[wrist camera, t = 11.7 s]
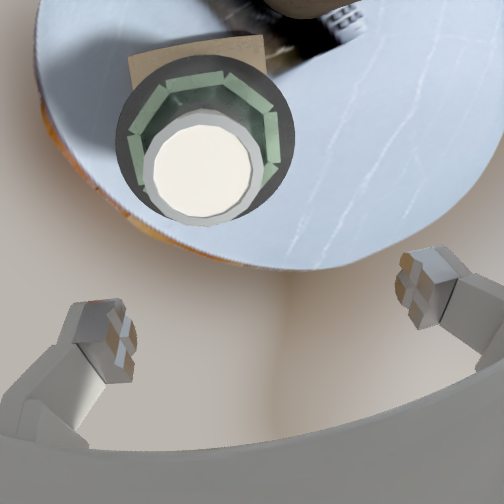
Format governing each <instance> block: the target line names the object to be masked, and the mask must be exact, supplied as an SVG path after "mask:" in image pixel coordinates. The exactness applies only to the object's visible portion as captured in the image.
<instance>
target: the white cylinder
mask: <svg viewBox="0 0 504 504" xmlns="http://www.w3.org/2000/svg"><path fill="white" fill-rule="evenodd" d="M263 172H264V165H263V161H262V156H261V152H260V148H259V146H258V144H257V143H256V142H255V140H254V139H253V137H252V136H251V135H250V134H249V132H248V131H247V130H246V128H245V127H243V126H242V125H240V124H239V123H237V122H236V121H234V120H233V119H231V118H230V117H228V116H226V115H224V114H222V113H221V112H219V111H217V110H212V109H202V108H200V109H197V110H193V111H190V112H187V113H185V114H183V115H182V116H180V117H178V118H177V119H175V120H174V121H172V122H171V123H170V124H169V125H167V126H166V127H165V128H164V129H163V130H161V131H160V132H159V133H158V134H157V135H156V136H154V138H153V140H152V142H151V144H150V146H149V148H148V150H147V152H146V154H145V156H144V165H143V182H144V184H145V187H146V190H147V192H148V195H149V197H150V200H151V201H152V202H153V203H154V204H155V205H156V206H157V207H158V208H159V209H160V211H161V212H162V213H163V214H164V215H165V216H167V217H169V218H171V219H173V220H176V221H178V222H180V223H182V224H184V225H190V226H203V227H210V226H213V225H217V224H221V223H224V222H228V221H230V220H232V219H233V218H235V217H236V216H237V215H239V214H240V213H242V212H243V211H245V210H246V209H247V208H248V207H249V206H250V204H251V203H252V201H253V200H254V198H255V197H256V195H257V194H258V192H259V191H260V187H261V182H262V177H263Z"/></svg>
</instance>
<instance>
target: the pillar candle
mask: <svg viewBox="0 0 504 504" xmlns="http://www.w3.org/2000/svg"><path fill="white" fill-rule="evenodd" d="M357 1H361V0H264V2H265V3H266V4H268V5H269V6H270V7H271V8H272V9H274V10H275V11H277V12H278V13H280V14H282V15H285V16H287V17H292V18H296V19H304V18H305V19H311V18H316V17H319V16H321V15H324V14H325V13H327V12H329V11H331V10H335V9H337V8H340V7H343V6H346V5H349V4H352V3H354V2H357Z"/></svg>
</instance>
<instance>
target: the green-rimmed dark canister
mask: <svg viewBox="0 0 504 504" xmlns="http://www.w3.org/2000/svg"><path fill="white" fill-rule="evenodd" d="M127 58H128V65H129V71H130V77H131V83H132V89H133V92H132V93H131V95H130V96H129V98H128V99H127V101H126V103H125V105H124V107H123V109H122V112H121V114H120V117H119V120H118V125H117V129H116V139H115V141H116V154H117V160H118V164H119V167H120V170H121V173H122V175H123V177H124V179H125V181H126V183H127V184H128V186H129V187H130V189H131V190H132V192H133V193H134V194H135V195H136V196H137V197H138V199H139V200H141V201H142V202H143V203H144V204H145V205H146V206H147V207H149V208H150V209H152V210H153V211H155V212H156V213H158V214H160V215H162V216H164V217H166V218H169V217H167V216H165V215H164V214H163V213H162V212H161V211H160V209H159V208H158V207H157V206H156V205H155V204H154V203H153V202H152V201H151V200H150V197H149V195H148V192H147V190H146V187H145V184H144V182H143V165H144V156H145V154H146V152H147V150H148V148H149V146H150V144H151V142H152V140H153V138H154V136H156V135H157V134H158V133H159V132H160V131H161V130H163V129H164V128H165V127H166V126H167V125H169V124H170V123H171V122H172V121H174V120H175V119H177V118H178V117H180V116H182V115H183V114H185V113H187V112H190V111H193V110H197V109H200V108H202V109H212V110H217V111H219V112H221V113H222V114H224V115H226V116H228V117H230V118H231V119H233V120H234V121H236V122H237V123H239V124H240V125H242V126H243V127H245V128H246V130H247V131H248V132H249V134H250V135H251V136H252V137H253V139H254V140H255V142H256V143H257V144H258V146H259V148H260V152H261V156H262V161H263V165H264V172H263V177H262V182H261V187H260V191H259V192H258V194H257V195H256V197H255V198H254V200H253V201H252V203H251V204H250V206H249V207H248V208H247V209H246V210H245V211H243V212H242V213H240V214H239V215H237V216H236V217H235V218H233V219H232V220H234V219H237V218H239V217H241V216H244V215H246V214H248V213H250V212H251V211H253V210H254V209H256V208H258V207H259V206H260V205H261V204H263V203H264V202H265V201H266V200H267V199H268V198H269V197H270V196H271V195H272V194H273V193H274V192H275V191H276V189H277V188H278V187H279V186H280V184H281V183H282V181H283V179H284V178H285V176H286V174H287V172H288V169H289V167H290V164H291V161H292V157H293V153H294V146H295V129H294V122H293V118H292V114H291V111H290V108H289V106H288V104H287V101H286V100H285V98H284V96H283V95H282V93H281V91H280V90H279V89H278V88H277V86H276V85H275V84H274V83H273V82H272V81H271V80H270V79H269V78H268V77H267V73H266V62H265V53H264V43H263V35H251V36H239V37H229V38H221V39H213V40H206V41H199V42H193V43H187V44H181V45H176V46H171V47H166V48H161V49H156V50H152V51H148V52H143V53H139V54H135V55H132V56H128V57H127ZM169 219H171V218H169ZM172 220H173V219H172ZM175 221H176V220H175ZM230 221H231V220H230Z"/></svg>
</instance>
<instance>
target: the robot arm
mask: <svg viewBox="0 0 504 504" xmlns="http://www.w3.org/2000/svg"><path fill="white" fill-rule="evenodd" d="M399 265H400V267H401V268H402V270H401V271H400V272H399V273H398V275H397V276H396V280H395V293H396V295H397V298H398V300H399V302H400V303H401V305H403V306H405V307H406V308H408V309H409V313H408V316H409V317H410V319H411V320H412V322H413V323H414V325H415V327H416V328H417V330H421V329H424V328H428V327H431V326H434V325H437V324H440V326H441V327H443V328H444V329H446V330H447V331H448V332H450V333H451V334H453V335H454V336H456V337H457V338H458V339H460V340H461V341H463V342H464V343H465V344H467V345H468V346H470V347H471V348H472V349H474V350H475V351H477V352H478V353H480V354H481V355H482V356H481V358H480V359H479V361H478V363H477V364H476V366H475V370H476V372H477V373H475V374H473V375H471V376H469V377H467V378H465V379H463V380H461V381H459V382H456V383H455V384H452V385H450V386H448V387H446V388H443V389H441V390H439V391H437V392H434V393H432V394H430V395H427V396H425V397H422V398H420V399H417V400H415V401H412V402H410V403H407V404H404V405H402V406H399V407H396V408H394V409H391V410H388V411H385V412H382V413H379V414H376V415H373V416H370V417H367V418H364V419H360V420H357V421H353V422H350V423H347V424H343V425H340V426H336V427H332V428H328V429H324V430H320V431H316V432H311V433H307V434H302V435H298V436H294V437H288V438H283V439H278V440H272V441H266V442H260V443H253V444H246V445H239V446H230V447H221V448H211V449H199V450H183V451H150V452H149V451H144V452H142V451H111V450H96V449H89V444H88V442H87V441H86V440H85V439H83V438H82V437H81V436H80V435H79V434H77V433H76V430H77V429H78V427H79V425H80V424H81V422H82V421H83V419H84V418H85V416H86V415H87V413H88V412H89V410H90V409H91V407H92V406H93V404H94V403H95V401H96V400H97V399H98V397H99V396H100V394H101V393H102V391H103V390H104V388H105V387H106V384H115V383H129V382H132V380H133V372H134V364H135V363H134V361H133V360H132V358H131V356H132V355H133V354H134V353H135V352H136V349H137V334H136V330H135V327H134V324H133V322H132V320H131V319H130V318H128V317H127V316H125V311H126V307H125V305H124V303H123V301H122V300H121V299H119V298H115V299H105V300H95V301H88V302H77V303H73V304H72V305H71V306H70V309H69V311H68V314H67V316H66V319H65V321H64V324H63V327H62V330H61V332H60V335H59V338H58V341H57V344H56V345H51V347H49V348H48V349H47V350H46V351H45V352H44V353H43V354H42V355H41V356H40V357H39V358H38V359H37V360H36V361H35V362H34V363H33V364H32V365H31V366H30V367H29V369H28V370H26V371H25V373H23V374H22V375H21V377H20V378H19V379H18V380H17V381H16V382H15V383H14V384H13V385H12V386H11V387H10V388H9V389H8V390H7V391H6V392H5V393H4V394H3V397H2V400H1V403H0V504H504V286H503V285H501V284H498V283H496V282H494V281H492V280H490V279H488V278H486V277H483V276H481V275H479V274H477V273H475V274H473V273H472V272H471V271H470V270H469V269H468V268H467V267H466V266H465V265H464V264H463V263H462V262H461V261H460V260H459V259H458V258H457V257H456V256H455V255H454V253H452V251H451V250H449V248H448V247H446V246H444V245H437V246H433V247H429V248H425V249H420V250H416V251H410V252H405V253H403V255H402V256H401V259H400V263H399Z"/></svg>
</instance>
